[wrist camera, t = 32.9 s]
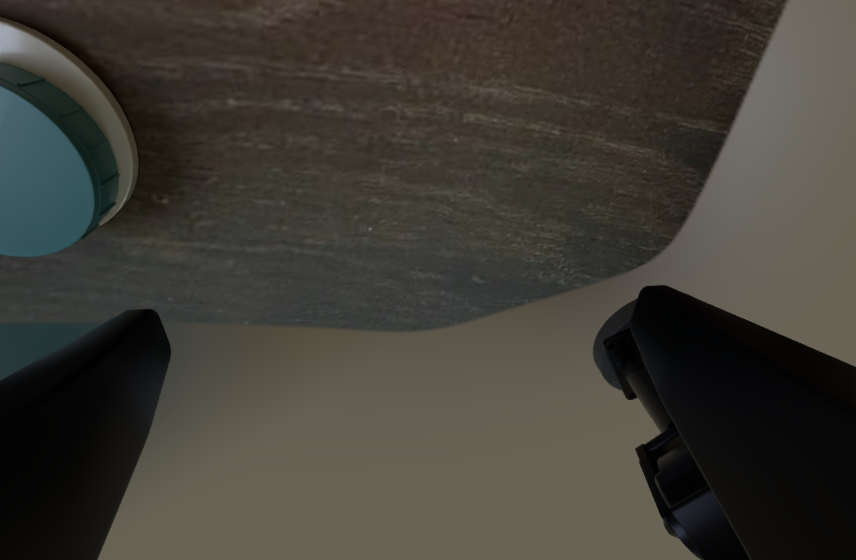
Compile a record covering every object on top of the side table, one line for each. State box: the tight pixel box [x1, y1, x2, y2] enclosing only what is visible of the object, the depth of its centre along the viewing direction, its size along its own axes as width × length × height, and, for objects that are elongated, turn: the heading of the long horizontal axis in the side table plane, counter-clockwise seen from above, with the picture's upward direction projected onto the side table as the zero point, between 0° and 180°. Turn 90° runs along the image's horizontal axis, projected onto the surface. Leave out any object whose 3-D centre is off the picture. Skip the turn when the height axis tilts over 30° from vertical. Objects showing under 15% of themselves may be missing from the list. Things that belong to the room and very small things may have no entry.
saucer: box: [0, 17, 138, 227], centre depth 17 cm, size 8×8×1 cm
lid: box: [0, 62, 120, 257], centre depth 16 cm, size 7×7×2 cm
